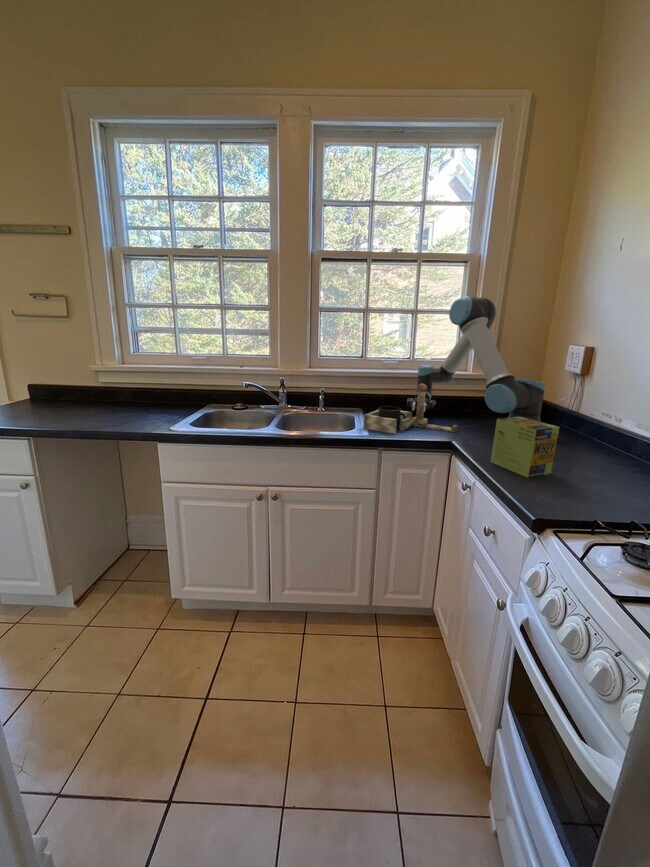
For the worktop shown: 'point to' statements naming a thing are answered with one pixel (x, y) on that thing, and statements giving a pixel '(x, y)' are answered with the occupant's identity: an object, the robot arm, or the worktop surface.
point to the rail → (438, 427)
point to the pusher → (419, 414)
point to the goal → (383, 422)
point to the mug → (391, 413)
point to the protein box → (524, 446)
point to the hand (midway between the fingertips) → (418, 408)
